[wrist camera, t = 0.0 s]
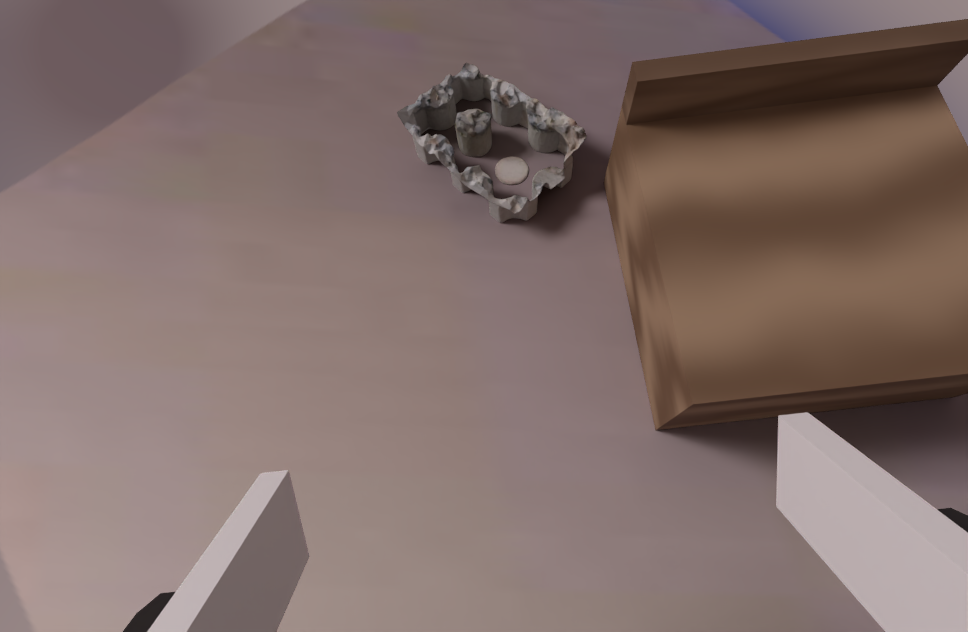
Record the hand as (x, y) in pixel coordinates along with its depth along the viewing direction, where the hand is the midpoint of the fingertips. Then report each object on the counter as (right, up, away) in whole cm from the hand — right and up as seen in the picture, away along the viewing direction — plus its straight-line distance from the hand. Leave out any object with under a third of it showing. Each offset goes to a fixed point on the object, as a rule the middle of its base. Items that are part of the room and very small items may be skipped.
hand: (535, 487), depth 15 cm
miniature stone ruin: (-1, +15, +23) cm, 27 cm away
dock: (+15, +7, +18) cm, 24 cm away
